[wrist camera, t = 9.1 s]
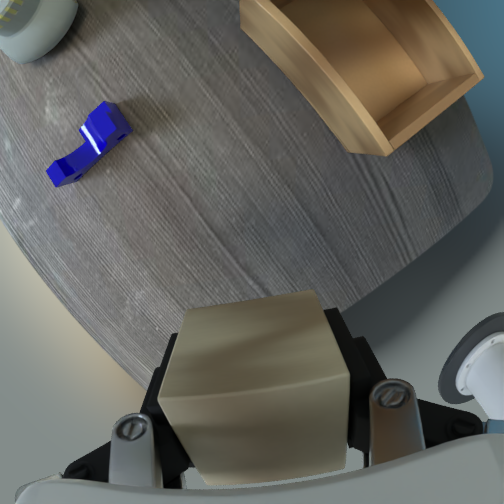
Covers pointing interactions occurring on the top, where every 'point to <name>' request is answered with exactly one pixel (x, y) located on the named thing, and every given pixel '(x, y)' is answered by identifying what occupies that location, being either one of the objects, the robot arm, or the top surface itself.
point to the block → (258, 390)
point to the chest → (365, 63)
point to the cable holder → (91, 144)
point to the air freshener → (33, 26)
